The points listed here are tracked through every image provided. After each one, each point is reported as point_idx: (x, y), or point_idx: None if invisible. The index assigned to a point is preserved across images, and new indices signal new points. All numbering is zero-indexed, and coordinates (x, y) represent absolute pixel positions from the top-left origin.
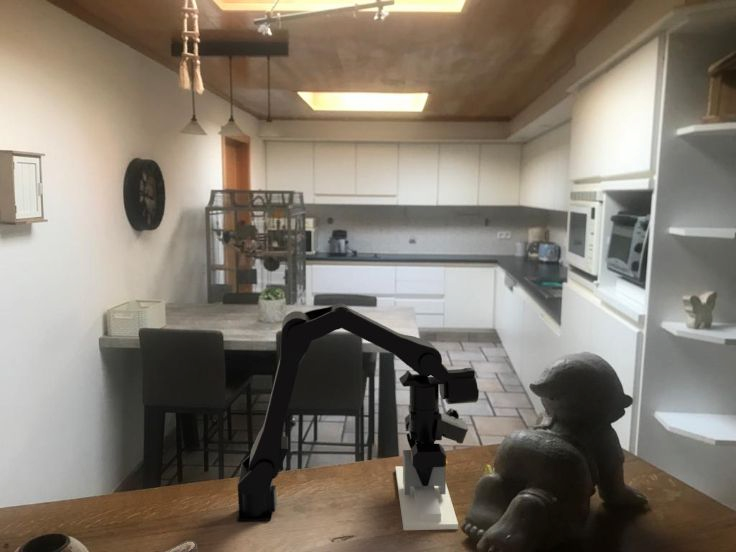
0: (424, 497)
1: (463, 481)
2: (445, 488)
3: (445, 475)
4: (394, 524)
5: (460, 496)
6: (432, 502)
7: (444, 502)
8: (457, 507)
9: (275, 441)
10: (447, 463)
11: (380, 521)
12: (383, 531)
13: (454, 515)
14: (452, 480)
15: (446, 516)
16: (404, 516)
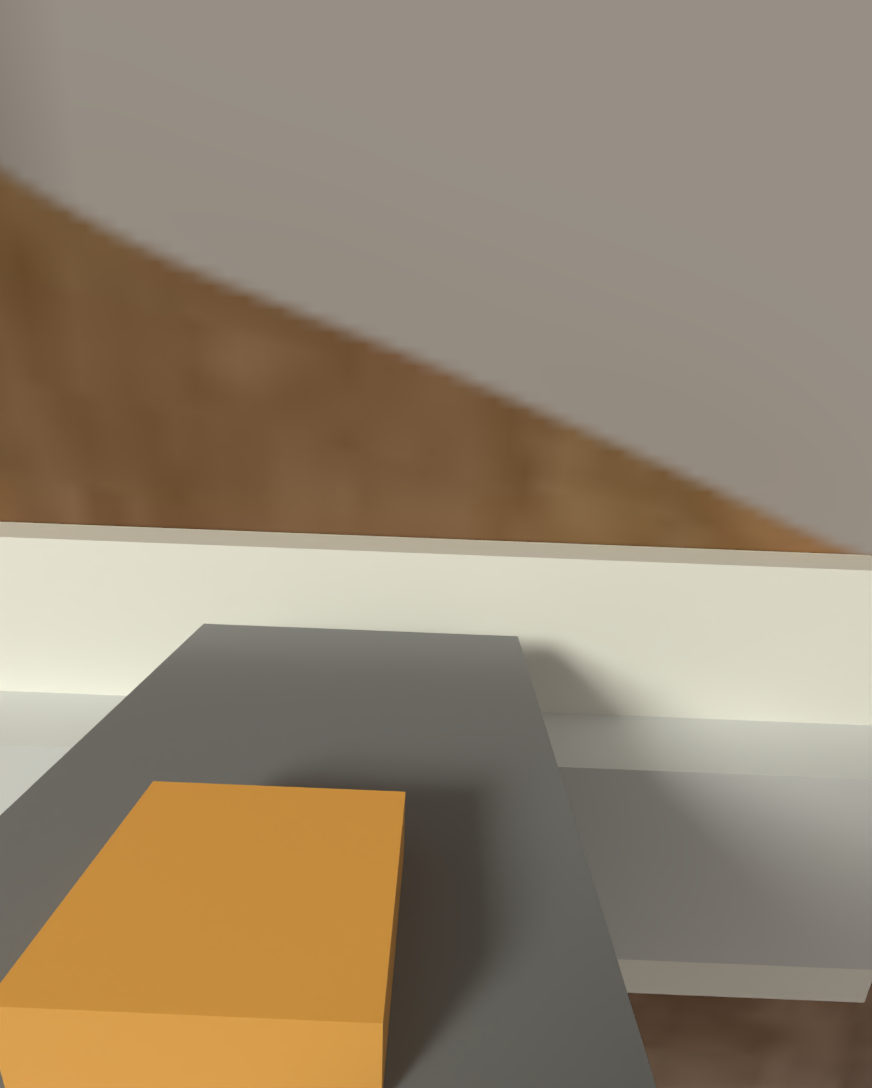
0: (616, 890)
1: (34, 287)
2: (529, 676)
3: (575, 840)
4: (737, 997)
5: (377, 403)
6: (732, 829)
7: (584, 636)
8: (589, 484)
9: None
10: (383, 1007)
11: (678, 1067)
12: (802, 1061)
13: (853, 582)
14: (27, 422)
15: (847, 664)
16: (743, 985)
